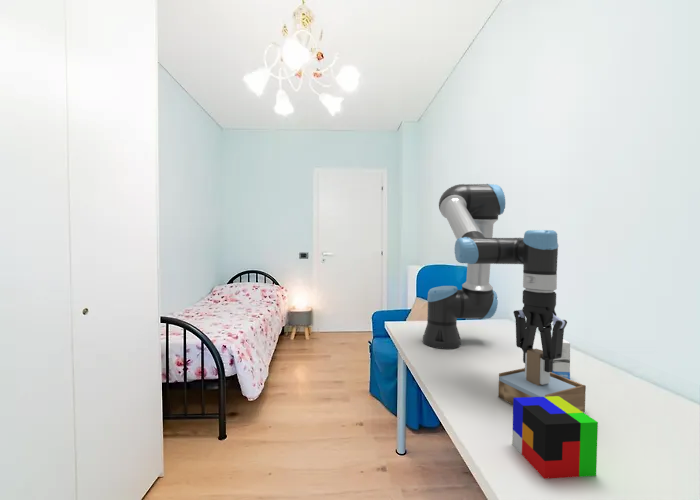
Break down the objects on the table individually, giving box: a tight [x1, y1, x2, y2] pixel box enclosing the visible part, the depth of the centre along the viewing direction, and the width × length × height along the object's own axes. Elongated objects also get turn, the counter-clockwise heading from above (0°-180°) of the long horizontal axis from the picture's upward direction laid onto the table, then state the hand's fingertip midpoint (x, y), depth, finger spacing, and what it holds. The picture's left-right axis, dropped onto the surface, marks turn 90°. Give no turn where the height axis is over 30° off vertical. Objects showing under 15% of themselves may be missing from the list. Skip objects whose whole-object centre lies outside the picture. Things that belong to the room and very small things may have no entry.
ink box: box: [551, 334, 571, 380], centre depth 105 cm, size 9×5×12 cm, turn 168°
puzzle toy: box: [511, 396, 599, 480], centre depth 65 cm, size 10×10×10 cm
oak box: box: [497, 367, 587, 413], centre depth 86 cm, size 14×14×6 cm
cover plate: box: [498, 348, 576, 397], centre depth 86 cm, size 12×13×9 cm
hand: (537, 379), depth 86 cm, fingers closed on cover plate, 3 cm apart
